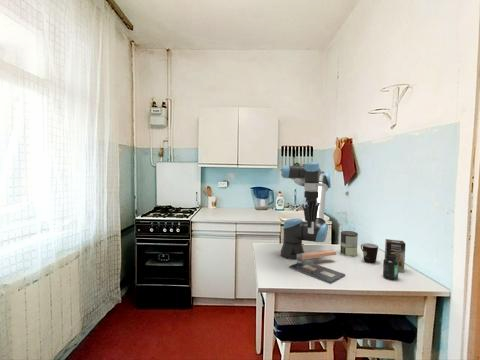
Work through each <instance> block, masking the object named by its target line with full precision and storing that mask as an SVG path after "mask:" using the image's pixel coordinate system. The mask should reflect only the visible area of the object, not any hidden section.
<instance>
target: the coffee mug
mask: <svg viewBox="0 0 480 360" xmlns="http://www.w3.org/2000/svg"><path fill="white" fill-rule="evenodd" d="M360 249H361V251H362V252H363V262H364V263H366V264H370V265H373V264H376V263H377V257H378V256H377V255H378V251H379V245H377V244H374V243H371V242H370V243H369V242H365V243H362V244H361V245H360Z"/></svg>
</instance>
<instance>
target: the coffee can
mask: <svg viewBox="0 0 480 360" xmlns="http://www.w3.org/2000/svg"><path fill="white" fill-rule="evenodd" d="M358 236H359V233H358V232H356V231H353V230H342V231H340V255H342V256H345V257H348V258H349V257H352V258H353V257H354V258H355V257H357V256H358V241H359V240H358Z"/></svg>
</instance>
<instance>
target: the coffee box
mask: <svg viewBox="0 0 480 360" xmlns="http://www.w3.org/2000/svg"><path fill="white" fill-rule="evenodd" d="M386 254H395V255H396V256H397V261H398V263H399V268H398V273H403V274H404V273H405V262H406V261H405V260H406V258H405V257H406V242H404V240H399V239H397V240H396V239H387V238H385V244H384V259H386Z"/></svg>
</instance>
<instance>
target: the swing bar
mask: <svg viewBox="0 0 480 360" xmlns="http://www.w3.org/2000/svg"><path fill="white" fill-rule="evenodd" d="M336 255H337V251H335V250H333V249H331V248H330V249H325V250H318V251H317V250H315V251H310V252H305V253H301V254H297V259H296V261H297V260H302V261H306V260H309V259H317V258H325V257H331V256H332V257H333V256H336Z"/></svg>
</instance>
